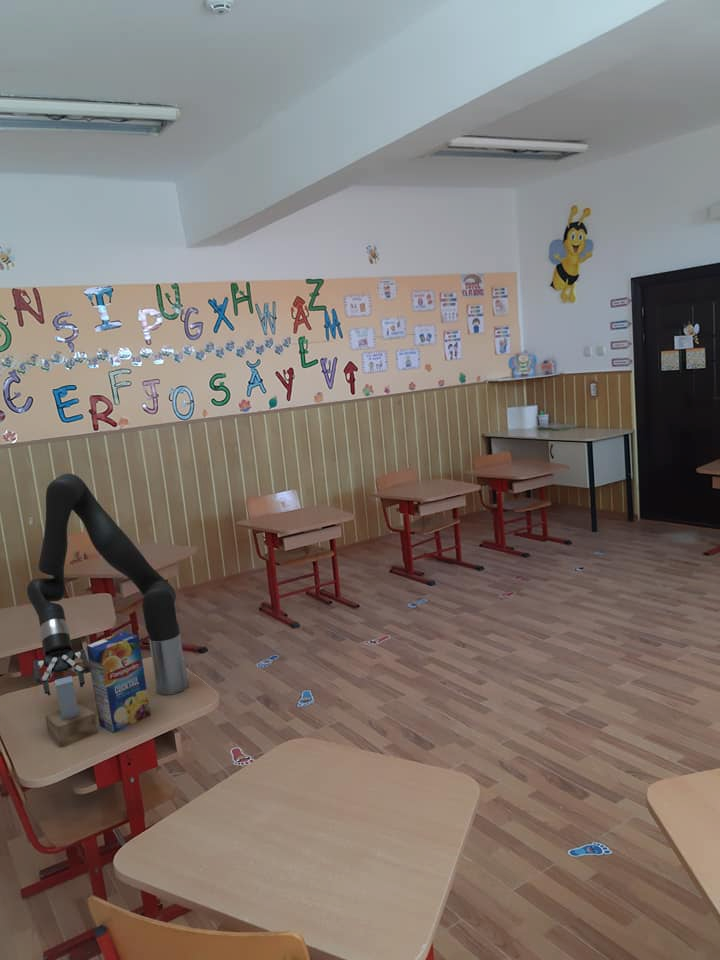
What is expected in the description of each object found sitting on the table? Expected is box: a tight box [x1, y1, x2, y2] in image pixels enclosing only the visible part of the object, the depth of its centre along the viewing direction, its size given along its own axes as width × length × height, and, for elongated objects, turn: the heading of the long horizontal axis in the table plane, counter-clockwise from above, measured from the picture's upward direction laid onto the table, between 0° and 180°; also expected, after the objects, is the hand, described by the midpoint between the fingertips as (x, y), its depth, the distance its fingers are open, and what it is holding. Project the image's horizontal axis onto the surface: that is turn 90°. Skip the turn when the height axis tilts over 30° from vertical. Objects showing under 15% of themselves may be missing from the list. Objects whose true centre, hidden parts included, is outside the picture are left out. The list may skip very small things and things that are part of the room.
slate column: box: [54, 675, 79, 720], centre depth 205 cm, size 4×4×10 cm
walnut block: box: [44, 702, 98, 748], centre depth 206 cm, size 10×10×6 cm
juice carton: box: [86, 631, 151, 734], centre depth 210 cm, size 12×8×24 cm, turn 139°
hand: (65, 690), depth 206 cm, fingers open, 8 cm apart
